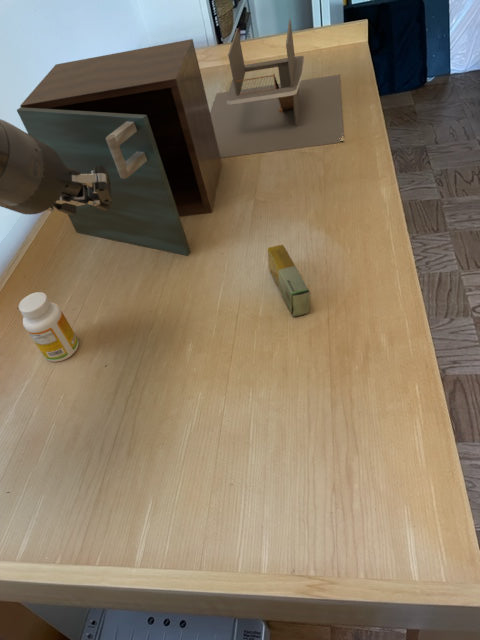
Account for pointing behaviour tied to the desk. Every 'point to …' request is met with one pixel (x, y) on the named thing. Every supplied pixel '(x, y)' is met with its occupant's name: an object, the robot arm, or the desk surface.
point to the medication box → (288, 281)
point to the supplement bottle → (48, 327)
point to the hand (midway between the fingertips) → (89, 204)
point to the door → (115, 174)
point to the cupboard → (149, 110)
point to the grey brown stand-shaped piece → (276, 107)
